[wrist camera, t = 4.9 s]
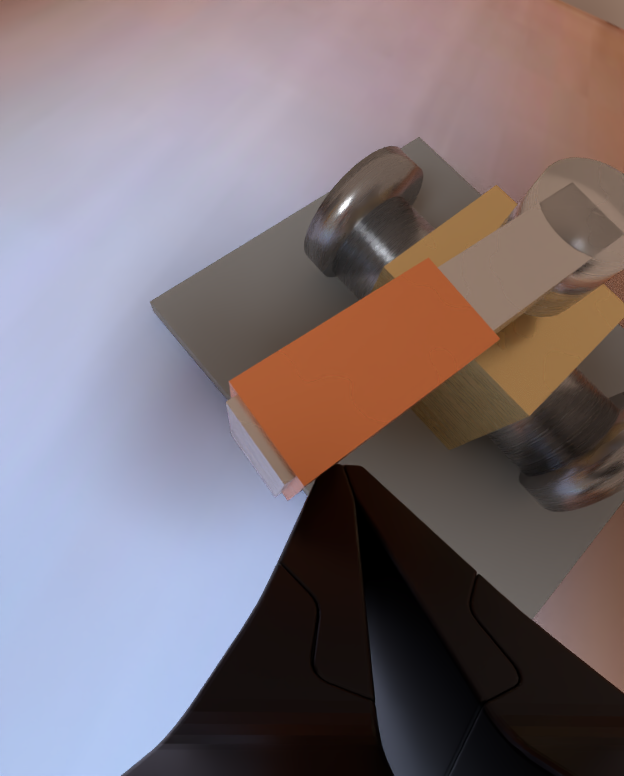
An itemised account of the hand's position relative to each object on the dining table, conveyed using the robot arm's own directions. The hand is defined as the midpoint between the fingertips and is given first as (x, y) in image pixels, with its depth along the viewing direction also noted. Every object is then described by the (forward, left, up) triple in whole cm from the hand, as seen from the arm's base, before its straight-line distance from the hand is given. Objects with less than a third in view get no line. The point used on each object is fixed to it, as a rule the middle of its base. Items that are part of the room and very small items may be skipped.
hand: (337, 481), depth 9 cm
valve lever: (+1, -4, 0) cm, 4 cm away
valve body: (+1, -8, -7) cm, 10 cm away
